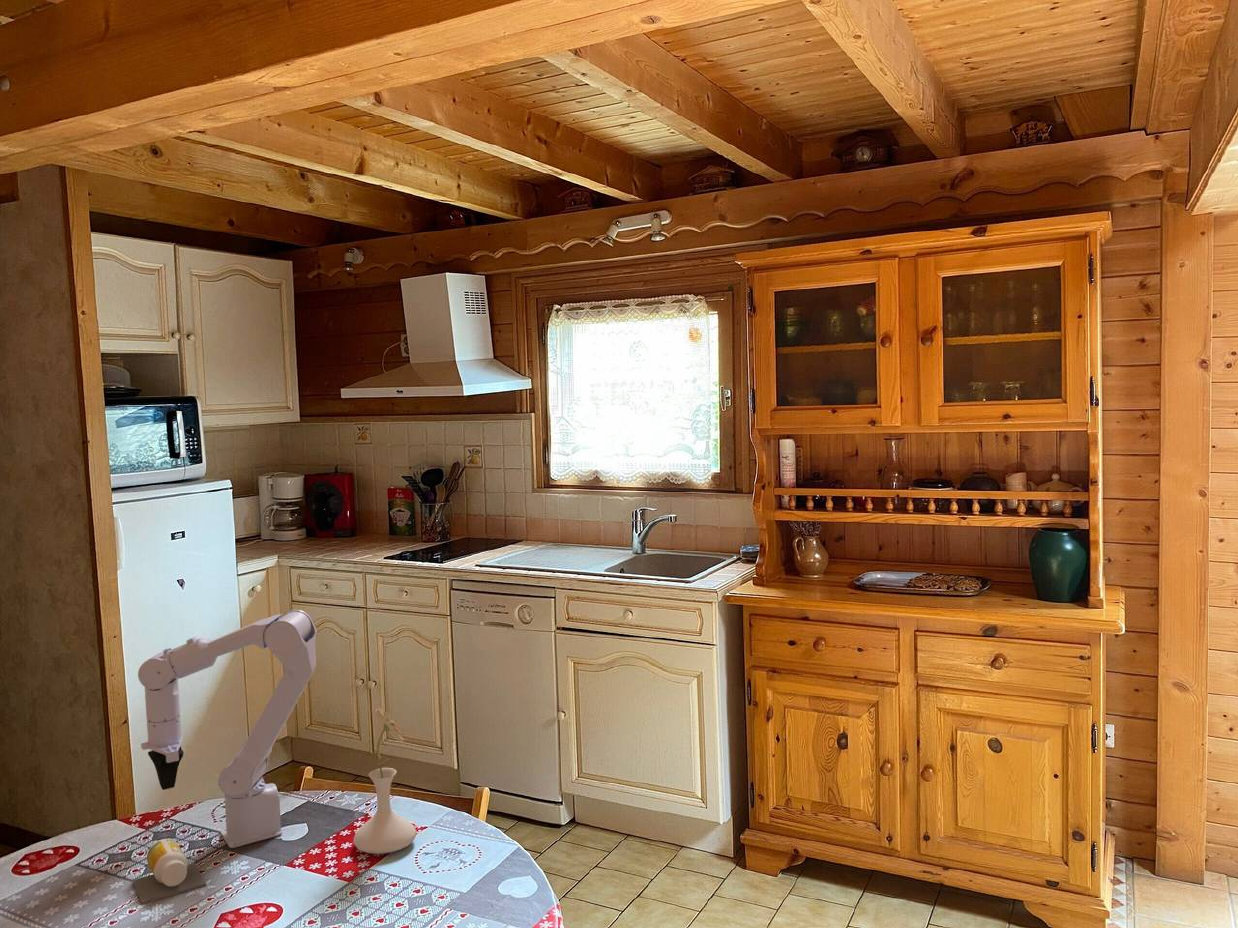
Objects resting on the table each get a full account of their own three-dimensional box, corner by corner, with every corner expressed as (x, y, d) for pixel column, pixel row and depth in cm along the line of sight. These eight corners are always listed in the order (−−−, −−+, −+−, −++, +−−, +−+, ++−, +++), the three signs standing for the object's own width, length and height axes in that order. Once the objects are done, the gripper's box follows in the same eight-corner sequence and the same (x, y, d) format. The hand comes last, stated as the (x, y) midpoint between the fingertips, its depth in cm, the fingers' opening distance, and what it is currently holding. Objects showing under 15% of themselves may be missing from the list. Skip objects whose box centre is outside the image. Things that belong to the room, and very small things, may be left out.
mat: (195, 864, 173) (194, 862, 172) (206, 885, 165) (206, 883, 165) (133, 881, 167) (133, 879, 167) (142, 904, 159) (141, 901, 159)
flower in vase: (418, 855, 174) (413, 720, 172) (352, 864, 172) (346, 727, 170) (415, 823, 187) (410, 697, 185) (354, 831, 184) (348, 703, 182)
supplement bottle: (178, 834, 172) (191, 854, 164) (179, 863, 172) (192, 885, 165) (145, 842, 169) (157, 863, 161) (146, 871, 169) (157, 894, 162)
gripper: (133, 711, 185) (138, 780, 186) (146, 732, 173) (151, 806, 174) (173, 703, 189) (177, 771, 190) (189, 724, 177) (193, 796, 178)
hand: (167, 787), depth 182 cm, fingers closed
